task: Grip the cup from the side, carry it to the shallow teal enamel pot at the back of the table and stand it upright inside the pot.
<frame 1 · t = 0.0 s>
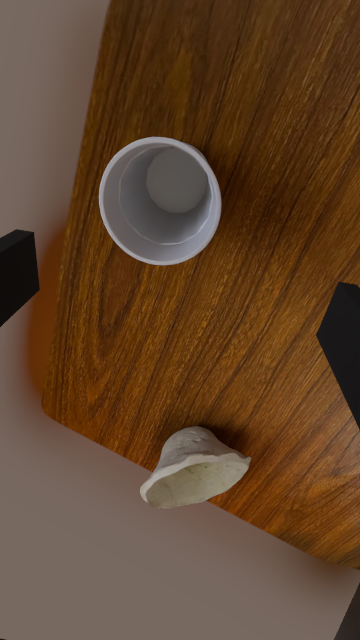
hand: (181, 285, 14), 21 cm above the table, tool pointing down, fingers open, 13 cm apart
bowl: (199, 438, 50), on the table
cup: (178, 179, 32), on the table
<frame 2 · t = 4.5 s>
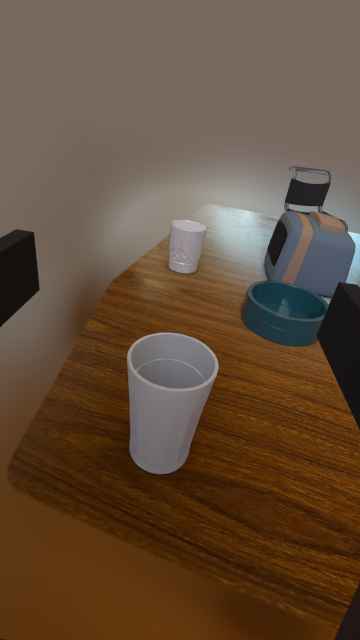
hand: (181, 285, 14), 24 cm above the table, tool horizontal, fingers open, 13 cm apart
chair: (299, 253, 99), on the table
white cup: (182, 268, 77), on the table
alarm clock: (298, 281, 80), on the table
cup: (159, 447, 35), on the table
pot: (280, 322, 61), on the table
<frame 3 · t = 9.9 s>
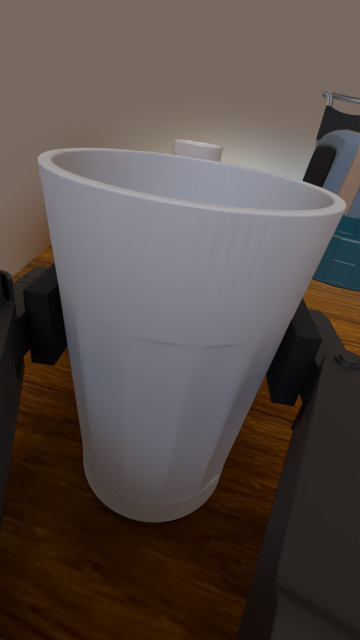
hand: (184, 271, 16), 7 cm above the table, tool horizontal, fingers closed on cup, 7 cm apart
chair: (333, 206, 79), on the table
white cup: (188, 209, 57), on the table
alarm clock: (341, 228, 60), on the table
cup: (153, 453, 15), on the table, touching gripper
pot: (335, 265, 42), on the table
when the fingers open (7 cm above the table, at t = 21.0 s): cup stays where it is, resting on pot.
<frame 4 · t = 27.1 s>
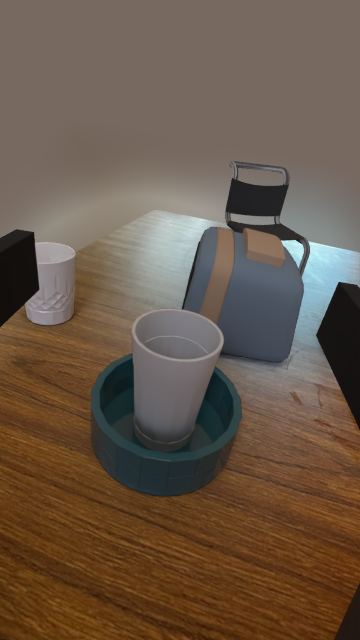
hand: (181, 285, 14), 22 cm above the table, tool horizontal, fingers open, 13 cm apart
chair: (249, 280, 73), on the table
white cup: (50, 315, 51), on the table
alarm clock: (230, 330, 54), on the table
cup: (163, 427, 35), resting on pot
pot: (162, 428, 35), on the table
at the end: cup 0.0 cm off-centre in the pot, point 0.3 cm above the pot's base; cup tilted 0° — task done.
